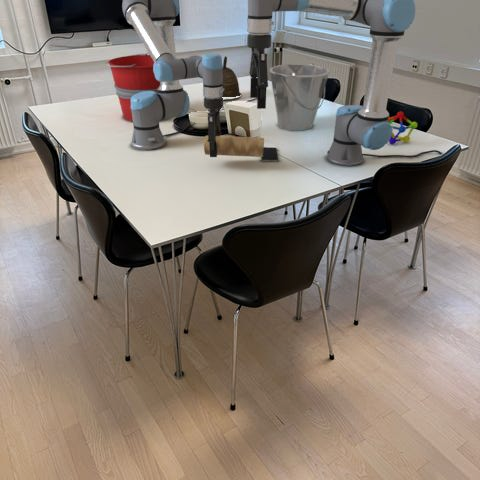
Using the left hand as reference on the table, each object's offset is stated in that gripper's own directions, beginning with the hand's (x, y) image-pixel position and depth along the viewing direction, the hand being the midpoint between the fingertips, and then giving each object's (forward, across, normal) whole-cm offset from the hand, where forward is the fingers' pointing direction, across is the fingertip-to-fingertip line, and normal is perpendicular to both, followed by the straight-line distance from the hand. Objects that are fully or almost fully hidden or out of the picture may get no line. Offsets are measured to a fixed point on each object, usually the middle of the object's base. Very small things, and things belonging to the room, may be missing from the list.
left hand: (215, 153), depth 184 cm
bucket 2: (+5, +60, -32) cm, 68 cm away
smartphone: (+5, +15, -22) cm, 27 cm away
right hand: (-27, -23, -19) cm, 40 cm away
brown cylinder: (0, 0, -8) cm, 8 cm away
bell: (+4, +111, +12) cm, 112 cm away
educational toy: (+6, +38, -80) cm, 89 cm away
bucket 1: (+4, +65, +51) cm, 83 cm away
